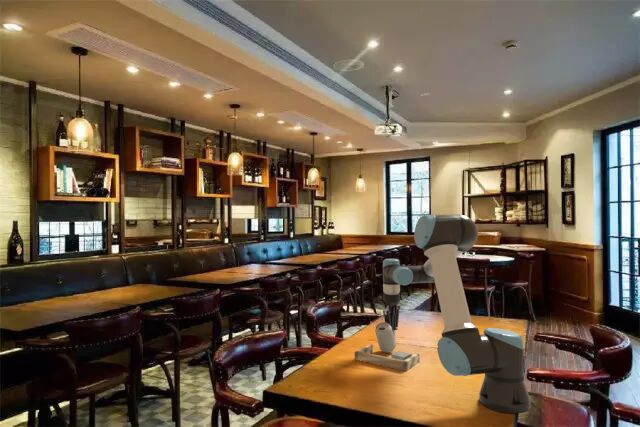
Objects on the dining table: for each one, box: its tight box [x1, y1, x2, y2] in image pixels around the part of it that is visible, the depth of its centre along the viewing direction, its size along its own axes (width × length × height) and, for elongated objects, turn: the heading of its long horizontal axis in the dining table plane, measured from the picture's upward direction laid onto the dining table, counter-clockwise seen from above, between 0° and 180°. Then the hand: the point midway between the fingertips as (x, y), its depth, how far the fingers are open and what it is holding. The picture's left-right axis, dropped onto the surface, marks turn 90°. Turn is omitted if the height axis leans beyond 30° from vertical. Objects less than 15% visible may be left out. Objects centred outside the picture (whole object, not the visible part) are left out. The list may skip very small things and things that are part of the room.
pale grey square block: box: [390, 350, 413, 360], centre depth 176 cm, size 6×6×4 cm
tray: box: [354, 344, 420, 372], centre depth 178 cm, size 13×24×4 cm, turn 54°
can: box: [374, 321, 397, 353], centre depth 189 cm, size 8×8×12 cm
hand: (392, 344), depth 194 cm, fingers closed
